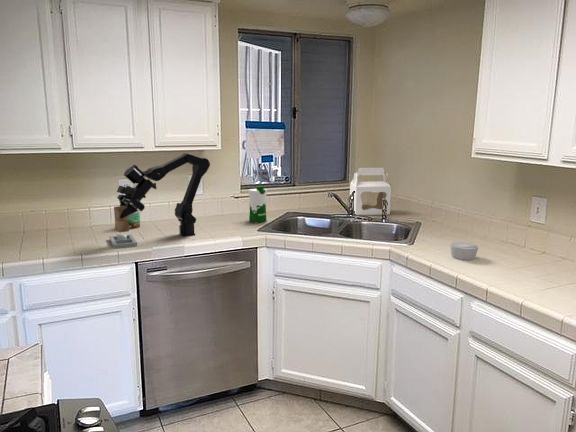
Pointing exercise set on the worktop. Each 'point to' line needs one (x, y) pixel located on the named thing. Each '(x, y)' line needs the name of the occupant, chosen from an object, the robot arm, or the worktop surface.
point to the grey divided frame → (123, 241)
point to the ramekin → (463, 250)
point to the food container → (134, 219)
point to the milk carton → (257, 204)
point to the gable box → (371, 186)
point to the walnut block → (121, 220)
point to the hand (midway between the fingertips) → (118, 217)
